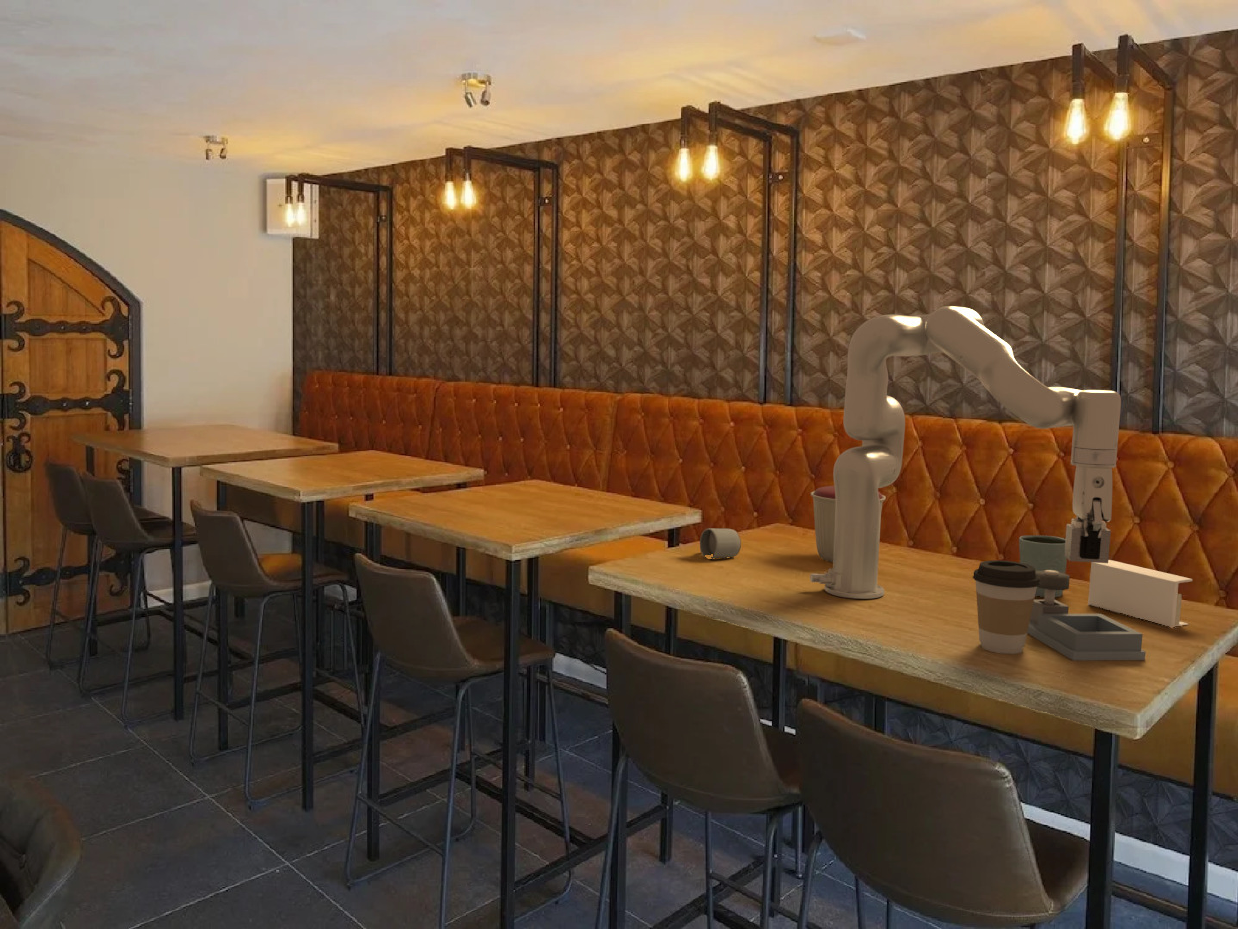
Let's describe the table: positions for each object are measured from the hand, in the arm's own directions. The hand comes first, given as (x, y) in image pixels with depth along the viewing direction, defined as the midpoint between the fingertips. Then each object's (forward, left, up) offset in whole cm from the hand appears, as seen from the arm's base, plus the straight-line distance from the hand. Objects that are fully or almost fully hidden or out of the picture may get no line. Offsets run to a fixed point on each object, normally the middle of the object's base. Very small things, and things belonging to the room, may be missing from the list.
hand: (1086, 554), depth 187 cm
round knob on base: (-4, +4, -11) cm, 12 cm away
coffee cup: (-18, -7, -16) cm, 25 cm away
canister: (-24, +65, -16) cm, 71 cm away
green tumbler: (+10, +33, -16) cm, 38 cm away
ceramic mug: (-56, +69, -16) cm, 90 cm away
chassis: (-2, -3, -16) cm, 16 cm away
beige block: (0, 0, -1) cm, 1 cm away
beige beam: (+20, +16, -16) cm, 30 cm away
